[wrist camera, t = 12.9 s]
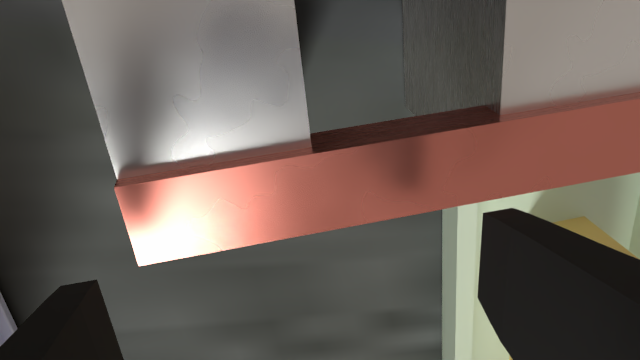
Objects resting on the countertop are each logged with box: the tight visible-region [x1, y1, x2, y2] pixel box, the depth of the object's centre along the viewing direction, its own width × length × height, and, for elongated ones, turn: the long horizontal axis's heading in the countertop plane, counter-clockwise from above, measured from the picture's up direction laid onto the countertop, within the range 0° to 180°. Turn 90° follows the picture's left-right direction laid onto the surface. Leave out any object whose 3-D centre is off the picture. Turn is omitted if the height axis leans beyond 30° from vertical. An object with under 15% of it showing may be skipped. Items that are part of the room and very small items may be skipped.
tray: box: [442, 172, 640, 360], centre depth 25 cm, size 20×10×2 cm, turn 6°
